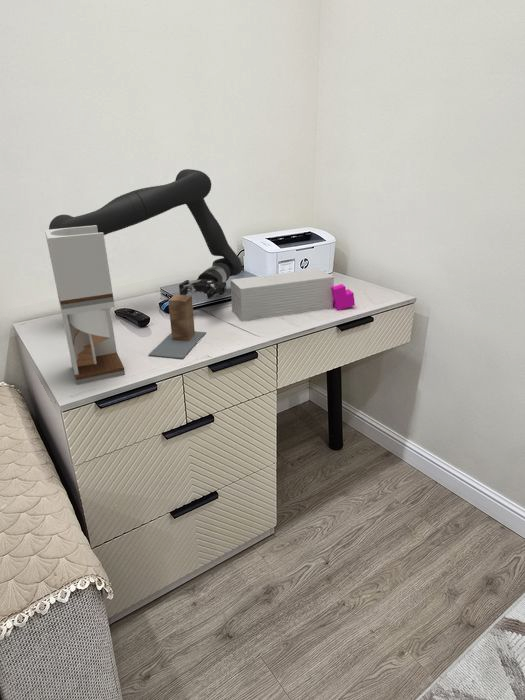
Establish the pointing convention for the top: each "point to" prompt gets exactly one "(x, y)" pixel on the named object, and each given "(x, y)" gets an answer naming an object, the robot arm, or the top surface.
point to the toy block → (342, 297)
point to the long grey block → (281, 294)
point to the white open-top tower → (85, 301)
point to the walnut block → (181, 317)
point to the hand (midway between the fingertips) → (194, 294)
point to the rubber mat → (176, 347)
